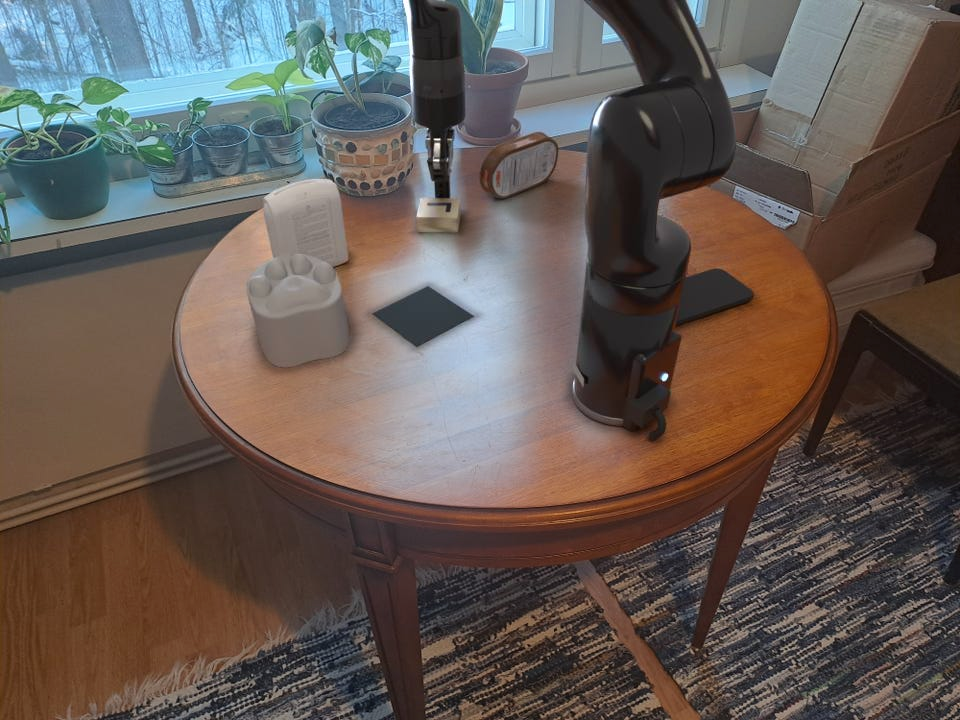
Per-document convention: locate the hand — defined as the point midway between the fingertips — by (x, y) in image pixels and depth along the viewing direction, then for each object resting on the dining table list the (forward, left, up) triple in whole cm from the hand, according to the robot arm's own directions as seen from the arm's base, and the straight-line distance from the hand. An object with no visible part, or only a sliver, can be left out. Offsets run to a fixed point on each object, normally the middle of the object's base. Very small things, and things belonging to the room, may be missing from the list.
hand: (442, 199), depth 109 cm
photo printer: (-1, +24, -2) cm, 24 cm away
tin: (-4, -13, -2) cm, 14 cm away
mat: (-20, +20, -2) cm, 28 cm away
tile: (-3, +3, -2) cm, 5 cm away
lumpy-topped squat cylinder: (-12, +33, -2) cm, 35 cm away
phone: (-41, -7, -2) cm, 41 cm away
